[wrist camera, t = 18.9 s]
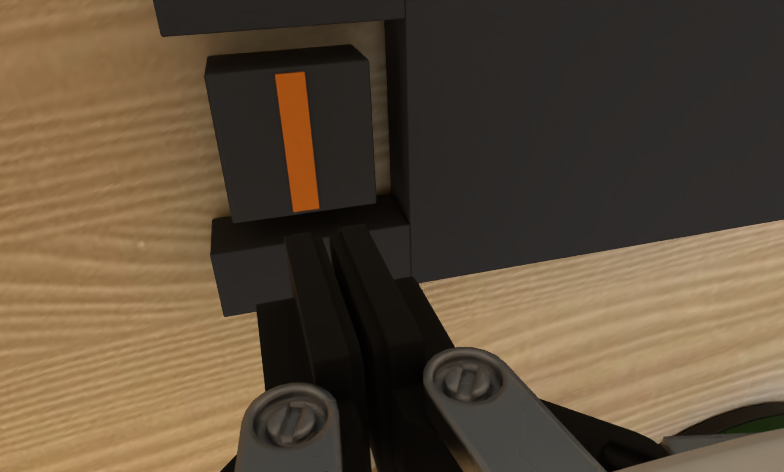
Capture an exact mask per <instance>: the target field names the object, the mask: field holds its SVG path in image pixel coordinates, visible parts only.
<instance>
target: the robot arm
mask: <svg viewBox="0 0 784 472" xmlns="http://www.w3.org/2000/svg"><path fill="white" fill-rule="evenodd" d="M284 242H285V249H286V256H287V263H288V270H289V277H290V284H291V291H292V297H293V298H289V299H283V300H278V301H272V302H267V303H261V304H256V310H257V319H258V328H259V337H260V346H261V355H262V364H263V373H264V382H265V392H264V393H263V394H261V395H260V396H259V397H257V398H256V399H255V400H254V401H253V402H252V403H251V404H250V406H249V407H248V408H247V410H246V411H245V414H244V417H243V420H242V423H241V430H240V437H239V444H238V451H237V455H236V456H235V457H234V458H233V459H232V460H231V461H230V462H229V463H228V464H227V465H226V466H225V467H224V468H223V469H222V470H221V471H220V472H372V467H371V454H370V448H371V452H372V455H373V458H374V462H375V465H376V468H377V472H784V428H782V429H777V430H772V431H767V432H756V433H734V434H712V435H690V436H668V437H663V441H662V444H657V443H656V442H654V441H653V440H652V439H650V438H648V437H645V436H643V435H641V434H639V433H637V432H634V431H631V430H628V429H625V428H623V427H620V426H617V425H614V424H611V423H608V422H605V421H602V420H599V419H597V418H594V417H591V416H588V415H585V414H582V413H579V412H576V411H573V410H571V409H568V408H565V407H562V406H559V405H556V404H553V403H550V402H547V401H545V400H542V399H539V398H538V397H537V396H536V395H535V394H534V393H533V392H532V391H531V390H530V389H529V388H528V387H527V385H526V384H525V383H524V382H523V381H522V380H521V379H520V378H519V377H518V376H517V375H516V374H515V373H514V371H513V370H512V369H511V368H510V367H509V366H508V365H507V364H506V363H505V362H504V361H503V360H501V359H500V358H499V357H498V356H496V355H494V354H492V353H490V352H488V351H486V350H482V349H478V348H473V347H456V348H455V346H454V345H453V343H452V341H451V339H450V338H449V336H448V334H447V332H446V331H445V329H444V327H443V326H442V324H441V322H440V320H439V319H438V317H437V315H436V313H435V312H434V310H433V308H432V307H431V305H430V303H429V301H428V300H427V298H426V296H425V294H424V293H423V291H422V289H421V288H420V286H419V284H418V282H417V281H416V279H415V278H414V277H412V276H410V277H404V278H399V279H393V277H392V275H391V273H390V271H389V269H388V267H387V265H386V264H385V262H384V260H383V258H382V256H381V254H380V252H379V250H378V248H377V246H376V244H375V242H374V240H373V238H372V236H371V234H370V232H369V230H368V229H367V227H366V225H365V224H358V225H351V226H345V227H339V228H338V235H332V236H330V237H329V242H330V252H331V262H332V264H331V262H330V259H329V256H328V253H327V250H326V247H325V244H324V242H323V239H322V237H319V238H312V235H311V232H307V233H300V234H294V235H288V236H284Z"/></svg>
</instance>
